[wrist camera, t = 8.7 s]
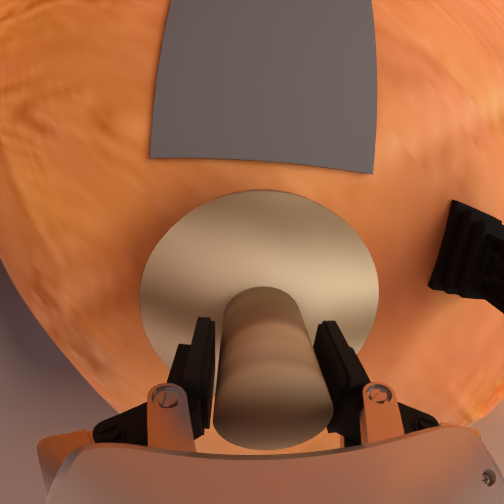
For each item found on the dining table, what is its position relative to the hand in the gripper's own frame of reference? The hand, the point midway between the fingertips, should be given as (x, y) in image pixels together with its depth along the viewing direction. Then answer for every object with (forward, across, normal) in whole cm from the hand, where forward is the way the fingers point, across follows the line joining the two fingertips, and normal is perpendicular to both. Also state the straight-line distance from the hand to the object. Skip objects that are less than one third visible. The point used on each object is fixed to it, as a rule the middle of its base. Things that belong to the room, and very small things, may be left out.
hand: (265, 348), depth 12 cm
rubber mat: (+9, 0, -16) cm, 18 cm away
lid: (+3, 0, 0) cm, 3 cm away
